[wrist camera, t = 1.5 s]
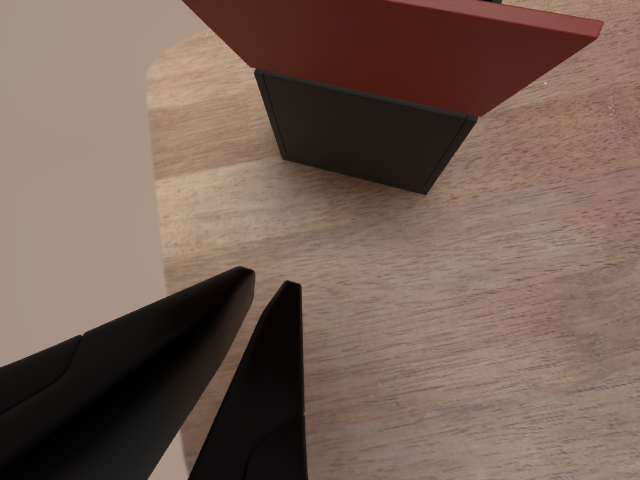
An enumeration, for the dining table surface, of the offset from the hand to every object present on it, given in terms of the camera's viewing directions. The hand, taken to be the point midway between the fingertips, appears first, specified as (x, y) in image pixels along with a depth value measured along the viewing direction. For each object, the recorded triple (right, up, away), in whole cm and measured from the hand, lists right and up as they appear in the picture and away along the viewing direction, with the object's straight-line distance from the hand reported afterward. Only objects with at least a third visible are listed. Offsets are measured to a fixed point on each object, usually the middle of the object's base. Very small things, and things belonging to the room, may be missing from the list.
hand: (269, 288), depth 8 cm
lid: (+3, +8, +3) cm, 9 cm away
